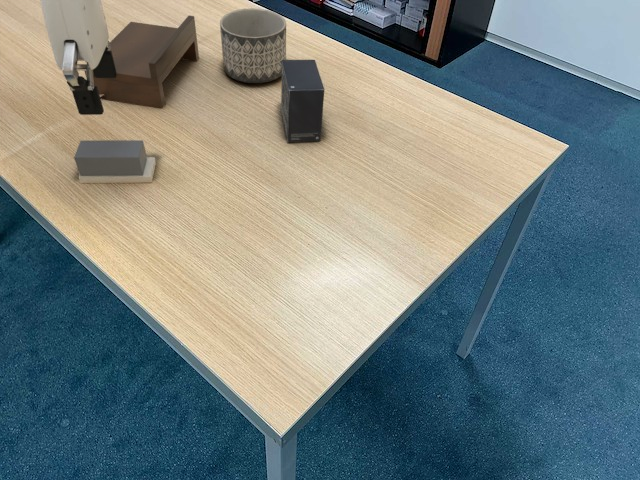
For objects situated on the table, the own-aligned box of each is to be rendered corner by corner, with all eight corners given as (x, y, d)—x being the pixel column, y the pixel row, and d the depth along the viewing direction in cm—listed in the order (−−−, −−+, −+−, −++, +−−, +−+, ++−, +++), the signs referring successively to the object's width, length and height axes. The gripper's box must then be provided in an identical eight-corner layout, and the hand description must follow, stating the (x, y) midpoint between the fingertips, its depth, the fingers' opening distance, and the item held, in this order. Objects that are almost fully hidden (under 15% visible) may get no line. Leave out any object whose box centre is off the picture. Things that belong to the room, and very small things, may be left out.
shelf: (91, 97, 102) (79, 52, 96) (136, 49, 116) (127, 6, 110) (162, 108, 101) (154, 63, 95) (199, 58, 115) (194, 15, 108)
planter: (211, 74, 110) (206, 24, 103) (250, 51, 118) (248, 2, 111) (260, 95, 106) (258, 44, 99) (297, 69, 114) (299, 20, 106)
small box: (323, 142, 96) (326, 89, 89) (286, 144, 95) (287, 90, 88) (313, 109, 104) (316, 57, 96) (279, 110, 103) (279, 58, 95)
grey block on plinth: (80, 183, 86) (71, 158, 82) (87, 163, 89) (79, 139, 86) (151, 182, 86) (146, 158, 83) (156, 162, 90) (151, 138, 86)
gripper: (50, -58, 71) (85, 64, 83) (7, -4, 59) (56, 129, 71) (109, -57, 71) (136, 64, 84) (79, -3, 59) (115, 129, 72)
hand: (99, 94), depth 77 cm, fingers open, 9 cm apart
